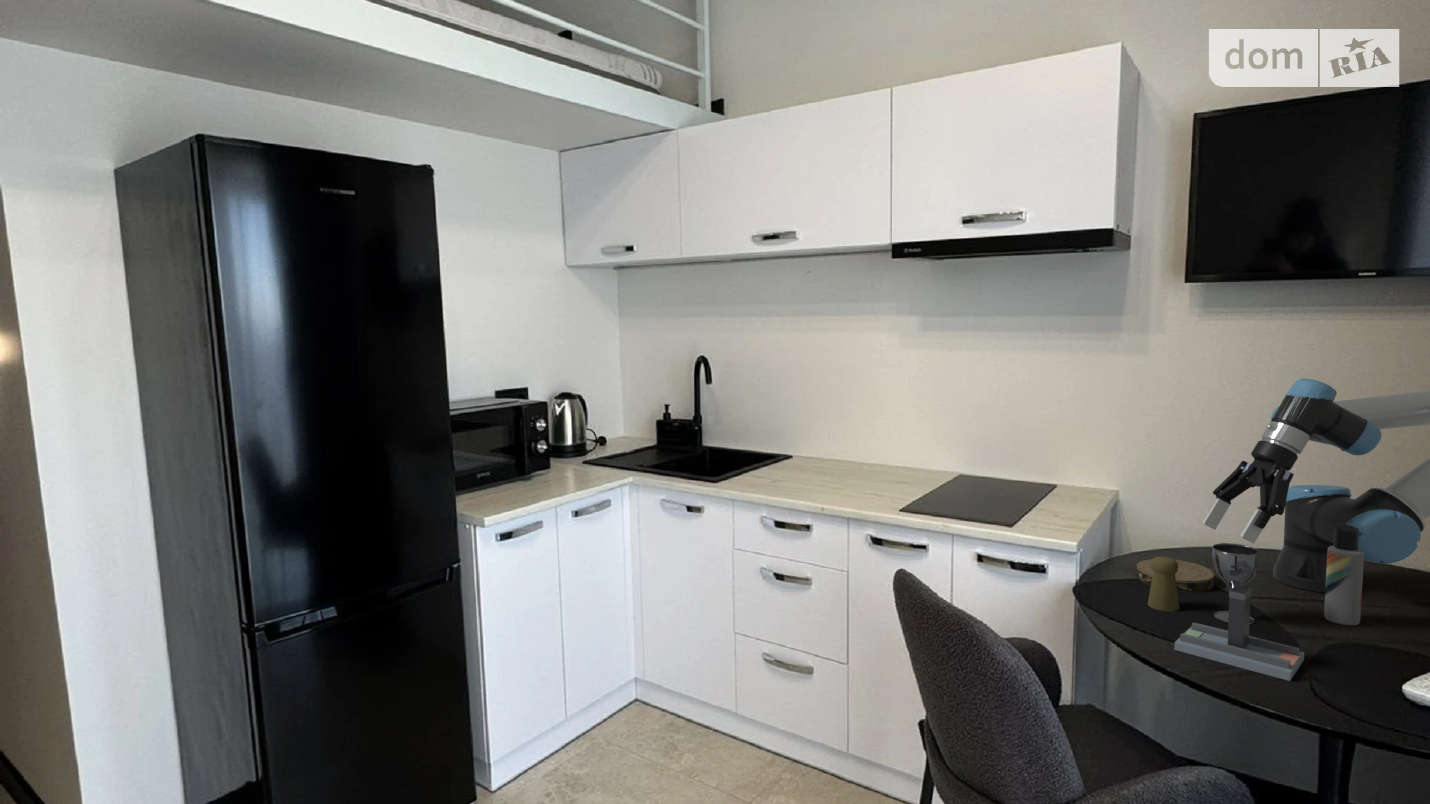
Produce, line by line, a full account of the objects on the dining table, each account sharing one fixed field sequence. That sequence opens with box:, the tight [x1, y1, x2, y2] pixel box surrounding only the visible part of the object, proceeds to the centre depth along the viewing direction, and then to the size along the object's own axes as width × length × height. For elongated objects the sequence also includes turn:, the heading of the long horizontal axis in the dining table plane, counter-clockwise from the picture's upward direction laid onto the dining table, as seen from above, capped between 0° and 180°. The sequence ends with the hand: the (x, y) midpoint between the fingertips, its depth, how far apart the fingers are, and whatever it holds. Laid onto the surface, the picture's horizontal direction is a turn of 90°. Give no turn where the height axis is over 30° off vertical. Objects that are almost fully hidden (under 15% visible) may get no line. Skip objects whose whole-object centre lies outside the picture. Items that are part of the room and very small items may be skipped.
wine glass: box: [1211, 542, 1260, 625], centre depth 155 cm, size 8×8×15 cm
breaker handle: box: [1227, 585, 1252, 649], centre depth 139 cm, size 2×4×11 cm, turn 131°
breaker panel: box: [1174, 622, 1305, 682], centre depth 140 cm, size 18×11×3 cm, turn 42°
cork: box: [1147, 556, 1180, 612], centre depth 163 cm, size 6×6×11 cm
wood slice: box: [1136, 558, 1215, 593], centre depth 179 cm, size 16×16×3 cm
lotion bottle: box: [1323, 524, 1365, 626], centre depth 152 cm, size 6×6×20 cm
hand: (1226, 533), depth 159 cm, fingers open, 13 cm apart
